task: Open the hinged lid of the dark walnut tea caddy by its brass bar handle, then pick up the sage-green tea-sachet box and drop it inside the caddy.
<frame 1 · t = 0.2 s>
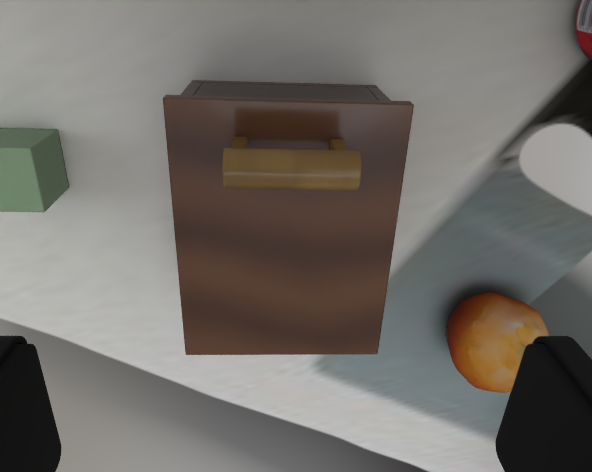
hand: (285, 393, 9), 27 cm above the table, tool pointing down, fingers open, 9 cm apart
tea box: (32, 158, 35), on the table
caddy: (282, 188, 37), on the table
fruit: (480, 316, 43), on the table
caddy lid: (286, 262, 26), point 12 cm above the table, hinge at 0.0°
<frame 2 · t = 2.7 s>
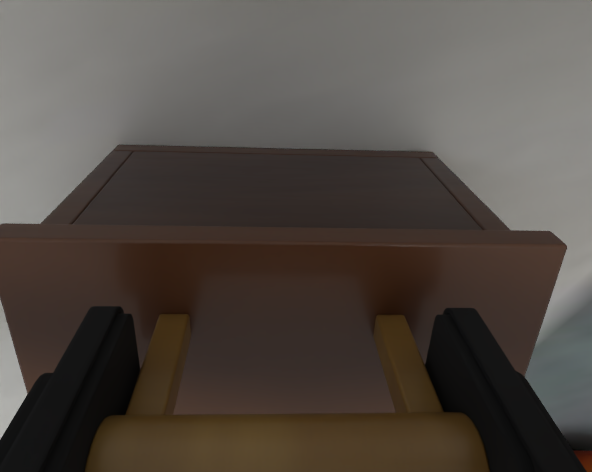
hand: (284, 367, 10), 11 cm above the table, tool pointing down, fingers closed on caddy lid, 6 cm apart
caddy: (274, 308, 23), on the table
fruit: (567, 470, 30), on the table
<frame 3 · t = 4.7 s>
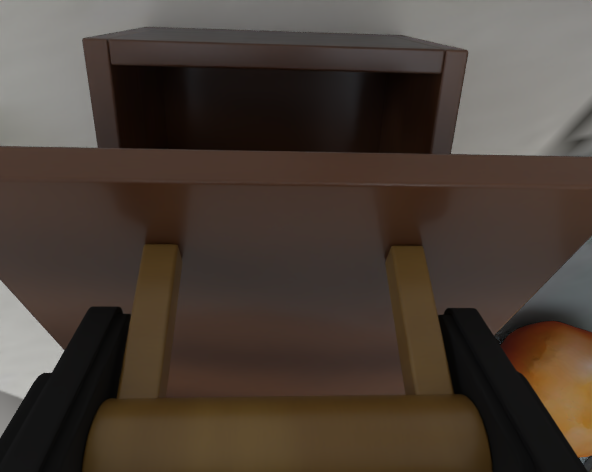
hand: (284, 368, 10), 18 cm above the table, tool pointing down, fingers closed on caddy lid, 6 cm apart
caddy: (274, 182, 27), on the table
fruit: (533, 350, 33), on the table
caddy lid: (278, 423, 14), point 15 cm above the table, hinge at 30.1°, touching gripper
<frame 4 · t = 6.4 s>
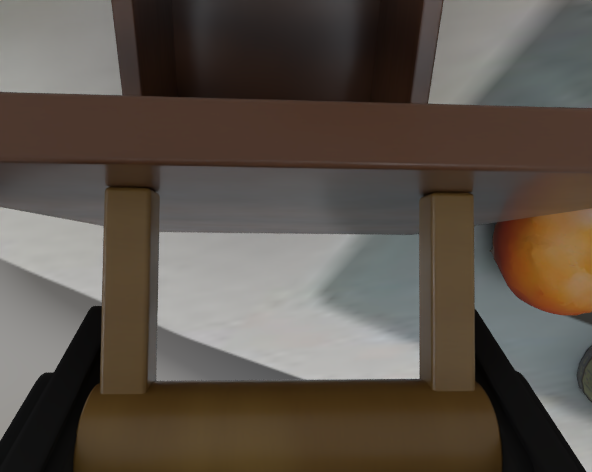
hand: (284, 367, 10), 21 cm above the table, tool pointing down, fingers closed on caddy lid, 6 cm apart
caddy: (276, 26, 27), on the table
fruit: (535, 225, 33), on the table
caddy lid: (280, 290, 14), point 18 cm above the table, hinge at 61.5°, touching gripper
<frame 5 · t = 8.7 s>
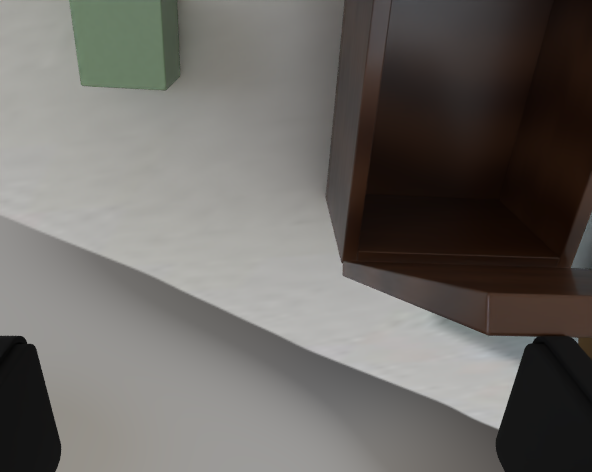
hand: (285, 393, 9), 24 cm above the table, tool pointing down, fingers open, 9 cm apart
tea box: (140, 35, 28), on the table
caddy: (436, 87, 30), on the table
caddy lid: (550, 352, 17), point 18 cm above the table, hinge at 61.5°, touching gripper
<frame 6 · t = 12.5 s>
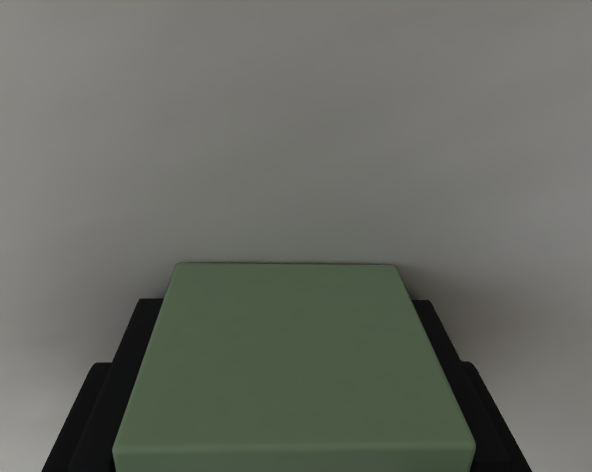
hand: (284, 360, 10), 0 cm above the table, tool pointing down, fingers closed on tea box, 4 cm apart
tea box: (284, 349, 11), on the table, touching gripper
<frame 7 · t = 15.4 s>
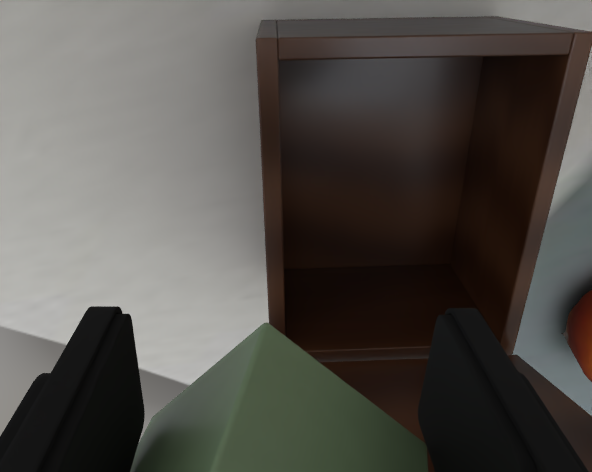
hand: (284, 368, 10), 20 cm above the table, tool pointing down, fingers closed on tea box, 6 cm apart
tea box: (282, 428, 11), point 20 cm above the table, tilted 13°, touching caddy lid, gripper
caddy: (371, 159, 29), on the table
when the fingers open (20 cm above the table, at t = 15.4 s): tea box drops 17 cm and tips over, resting on caddy.
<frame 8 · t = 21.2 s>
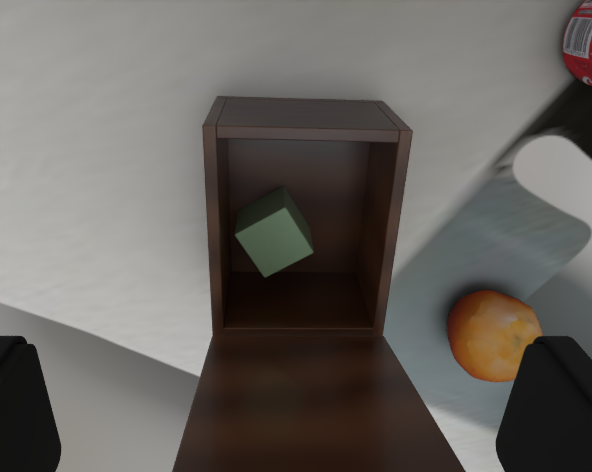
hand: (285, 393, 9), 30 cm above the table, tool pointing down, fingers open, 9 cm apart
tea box: (298, 218, 38), point 3 cm above the table, tilted 90°, touching caddy
caddy: (296, 194, 40), on the table
fruit: (477, 312, 47), on the table
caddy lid: (306, 437, 28), point 18 cm above the table, hinge at 73.7°
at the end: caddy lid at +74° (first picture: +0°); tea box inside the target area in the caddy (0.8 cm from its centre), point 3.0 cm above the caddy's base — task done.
